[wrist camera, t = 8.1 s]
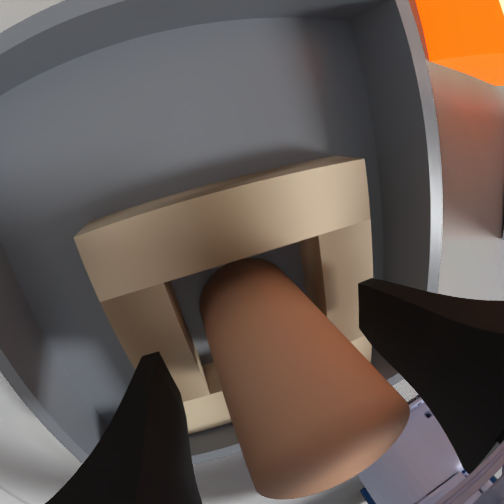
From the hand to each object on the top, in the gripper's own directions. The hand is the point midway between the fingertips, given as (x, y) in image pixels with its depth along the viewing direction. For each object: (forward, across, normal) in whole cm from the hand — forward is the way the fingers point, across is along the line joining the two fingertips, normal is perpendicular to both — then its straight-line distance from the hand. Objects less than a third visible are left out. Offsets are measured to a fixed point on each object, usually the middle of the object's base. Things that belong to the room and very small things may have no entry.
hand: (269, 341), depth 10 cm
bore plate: (+4, 0, 0) cm, 4 cm away
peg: (+3, 0, 0) cm, 3 cm away
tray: (+4, +1, -3) cm, 5 cm away
